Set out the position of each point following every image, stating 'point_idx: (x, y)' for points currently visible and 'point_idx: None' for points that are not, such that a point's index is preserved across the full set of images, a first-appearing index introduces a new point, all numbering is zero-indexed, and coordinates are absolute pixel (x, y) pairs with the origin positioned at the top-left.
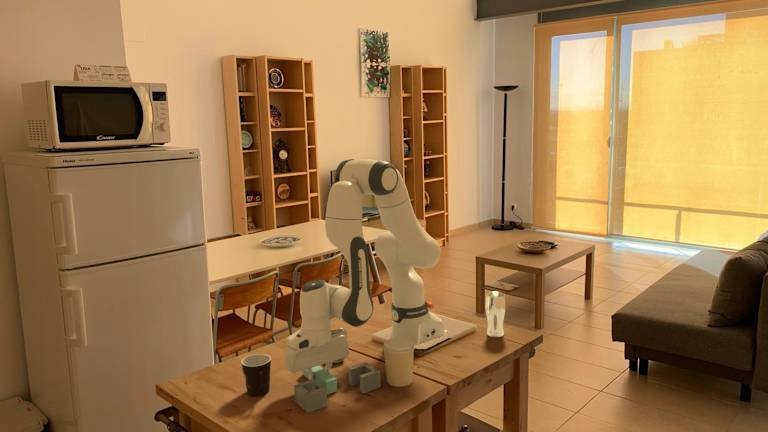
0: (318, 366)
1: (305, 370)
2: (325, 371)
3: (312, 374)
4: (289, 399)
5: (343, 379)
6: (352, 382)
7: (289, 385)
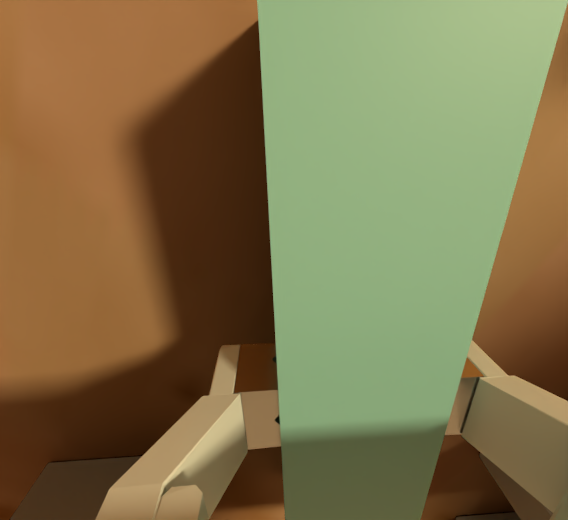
0: (453, 320)
1: (131, 482)
2: (416, 482)
3: (254, 426)
4: (8, 426)
5: (507, 370)
6: (498, 474)
7: (27, 211)
